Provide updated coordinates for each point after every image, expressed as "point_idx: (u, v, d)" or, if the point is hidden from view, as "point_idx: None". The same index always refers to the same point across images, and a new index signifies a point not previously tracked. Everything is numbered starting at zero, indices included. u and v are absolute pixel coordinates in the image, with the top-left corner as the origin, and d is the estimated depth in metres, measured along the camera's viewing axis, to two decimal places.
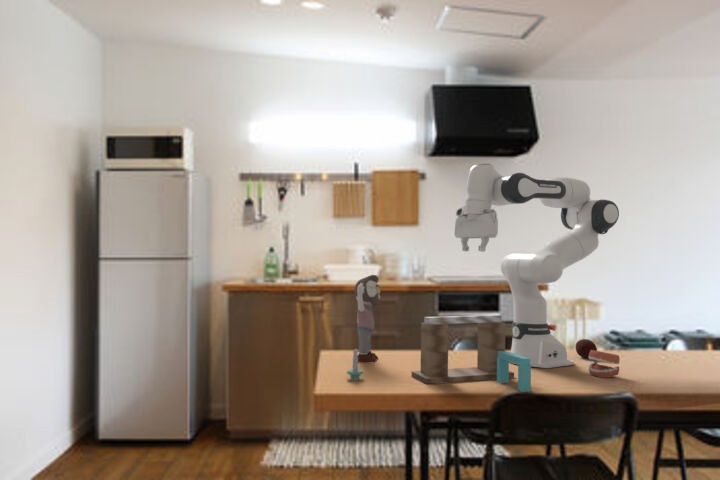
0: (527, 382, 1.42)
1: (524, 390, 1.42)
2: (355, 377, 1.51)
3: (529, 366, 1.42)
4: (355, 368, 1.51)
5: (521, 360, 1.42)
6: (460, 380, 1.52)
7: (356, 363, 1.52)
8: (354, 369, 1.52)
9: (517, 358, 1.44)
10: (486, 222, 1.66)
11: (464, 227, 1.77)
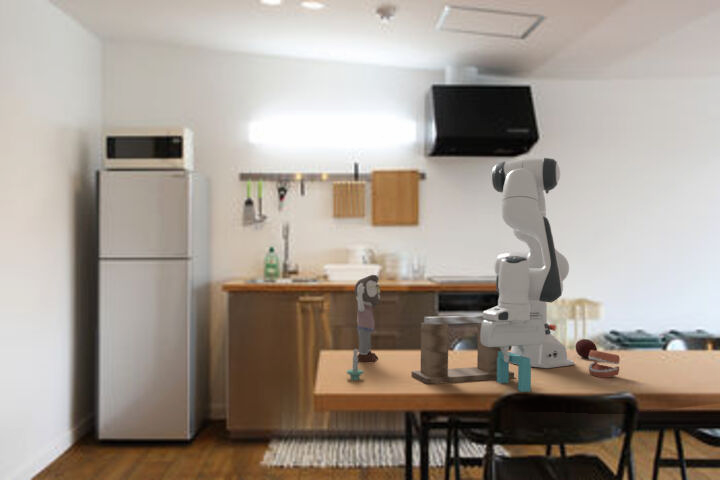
0: (527, 382, 1.42)
1: (524, 390, 1.42)
2: (355, 377, 1.51)
3: (529, 366, 1.42)
4: (355, 368, 1.51)
5: (521, 360, 1.42)
6: (460, 380, 1.52)
7: (356, 363, 1.52)
8: (354, 369, 1.52)
9: (517, 358, 1.44)
10: (541, 328, 1.49)
11: (505, 334, 1.45)
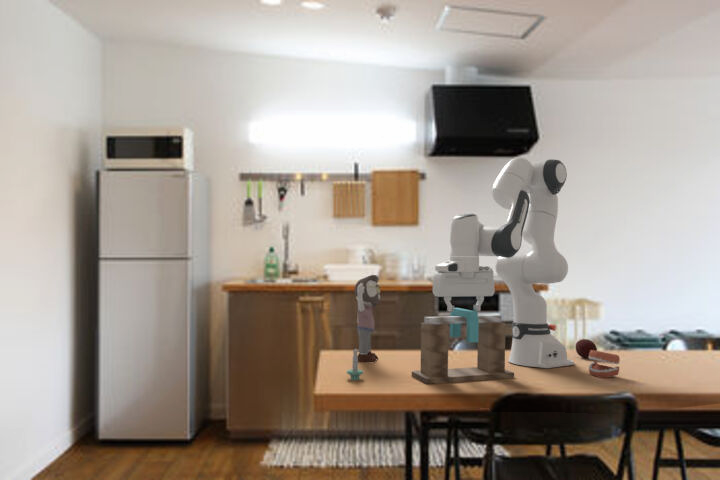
0: (475, 334, 1.53)
1: (471, 340, 1.52)
2: (355, 377, 1.51)
3: (477, 319, 1.53)
4: (355, 368, 1.51)
5: (469, 313, 1.53)
6: (460, 380, 1.52)
7: (356, 363, 1.52)
8: (354, 369, 1.52)
9: (466, 312, 1.55)
10: (490, 281, 1.60)
11: (455, 285, 1.55)
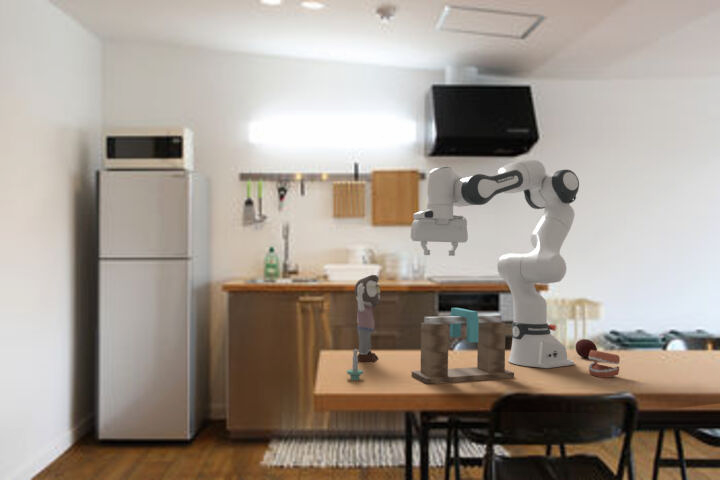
0: (475, 334, 1.53)
1: (471, 340, 1.52)
2: (355, 377, 1.51)
3: (477, 319, 1.53)
4: (355, 368, 1.51)
5: (469, 313, 1.53)
6: (460, 380, 1.52)
7: (356, 363, 1.52)
8: (354, 369, 1.52)
9: (466, 312, 1.55)
10: (463, 228, 1.75)
11: (431, 231, 1.71)
